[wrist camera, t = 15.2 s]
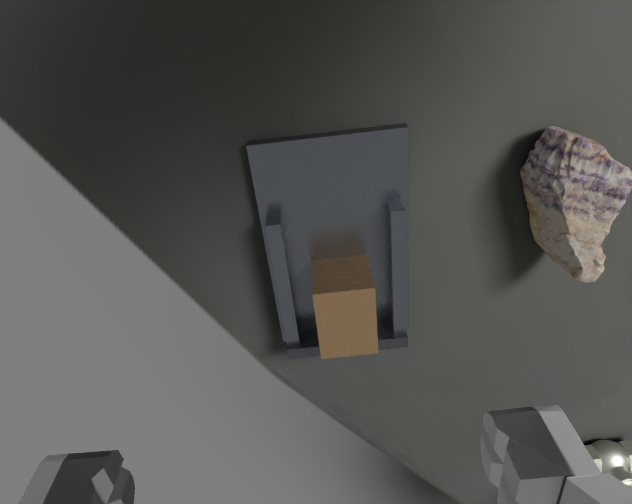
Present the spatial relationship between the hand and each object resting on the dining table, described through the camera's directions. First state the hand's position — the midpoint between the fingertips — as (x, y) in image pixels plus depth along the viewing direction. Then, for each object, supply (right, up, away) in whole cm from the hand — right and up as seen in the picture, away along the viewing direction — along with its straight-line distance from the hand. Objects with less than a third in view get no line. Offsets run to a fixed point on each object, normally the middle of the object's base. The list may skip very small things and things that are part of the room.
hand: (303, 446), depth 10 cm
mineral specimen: (+21, +10, +29) cm, 37 cm away
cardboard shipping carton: (+3, +1, +33) cm, 33 cm away
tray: (+2, +5, +31) cm, 32 cm away
